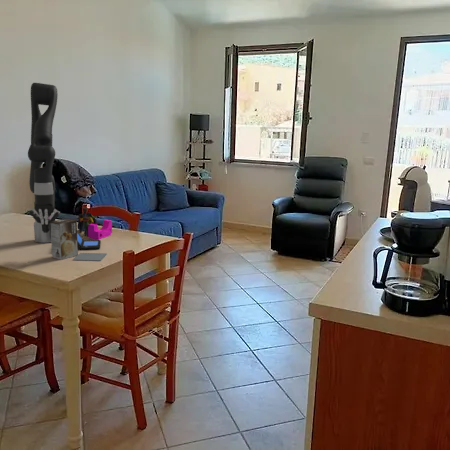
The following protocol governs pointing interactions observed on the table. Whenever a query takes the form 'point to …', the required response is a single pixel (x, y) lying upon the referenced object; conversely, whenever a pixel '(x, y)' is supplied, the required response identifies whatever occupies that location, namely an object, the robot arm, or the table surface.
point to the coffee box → (64, 238)
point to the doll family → (85, 222)
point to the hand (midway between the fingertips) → (46, 232)
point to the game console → (88, 243)
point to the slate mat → (90, 256)
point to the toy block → (103, 232)
